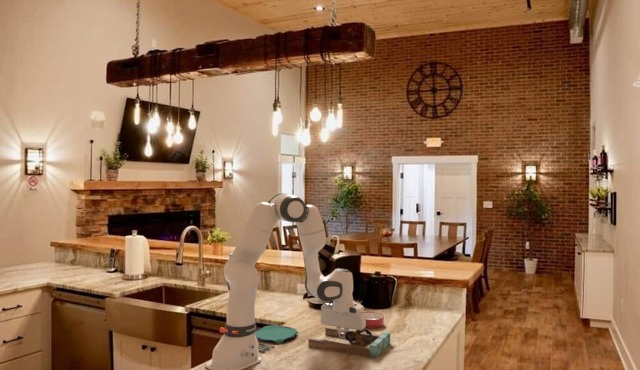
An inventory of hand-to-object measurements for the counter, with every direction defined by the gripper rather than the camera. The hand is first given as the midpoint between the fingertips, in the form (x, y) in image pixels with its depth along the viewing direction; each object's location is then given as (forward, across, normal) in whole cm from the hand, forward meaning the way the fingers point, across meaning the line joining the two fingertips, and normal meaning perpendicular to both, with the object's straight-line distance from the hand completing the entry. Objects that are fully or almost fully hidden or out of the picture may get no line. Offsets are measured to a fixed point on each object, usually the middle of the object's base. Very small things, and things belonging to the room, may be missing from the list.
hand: (342, 337), depth 217 cm
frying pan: (+3, +2, +22) cm, 22 cm away
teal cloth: (+3, -31, -10) cm, 33 cm away
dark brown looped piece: (+3, +7, +1) cm, 8 cm away
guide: (+3, +3, 0) cm, 4 cm away
